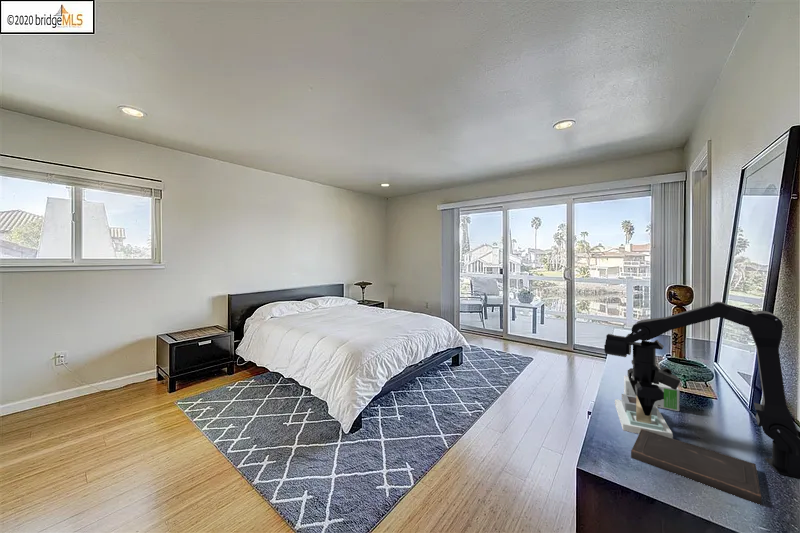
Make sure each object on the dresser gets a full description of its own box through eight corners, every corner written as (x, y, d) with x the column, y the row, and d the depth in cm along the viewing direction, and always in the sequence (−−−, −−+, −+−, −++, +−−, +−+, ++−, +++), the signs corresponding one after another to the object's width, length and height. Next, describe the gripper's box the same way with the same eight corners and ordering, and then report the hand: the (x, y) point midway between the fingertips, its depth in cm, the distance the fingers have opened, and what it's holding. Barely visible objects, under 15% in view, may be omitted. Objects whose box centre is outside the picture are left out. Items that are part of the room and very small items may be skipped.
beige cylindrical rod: (652, 425, 96) (652, 393, 96) (637, 422, 98) (637, 391, 97) (649, 420, 99) (650, 389, 99) (635, 417, 101) (635, 387, 101)
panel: (672, 440, 91) (672, 424, 91) (623, 430, 97) (623, 414, 97) (656, 411, 109) (656, 397, 108) (614, 404, 114) (614, 391, 114)
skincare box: (680, 411, 108) (625, 402, 116) (675, 404, 114) (623, 396, 122) (679, 388, 108) (624, 380, 116) (675, 381, 114) (623, 375, 122)
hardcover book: (641, 436, 95) (641, 428, 95) (755, 472, 78) (755, 463, 78) (630, 459, 83) (630, 451, 83) (761, 508, 67) (761, 497, 67)
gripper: (687, 374, 86) (687, 429, 86) (668, 355, 102) (668, 402, 103) (637, 367, 91) (637, 420, 92) (627, 351, 108) (627, 395, 108)
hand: (644, 409), depth 98 cm, fingers open, 9 cm apart
